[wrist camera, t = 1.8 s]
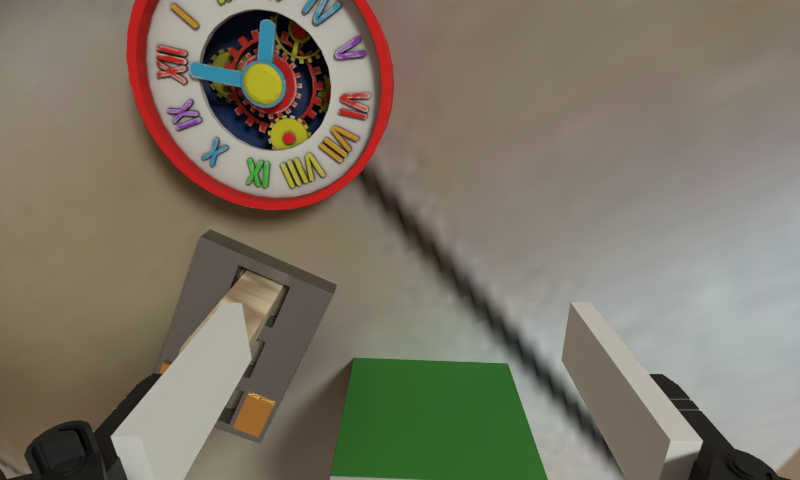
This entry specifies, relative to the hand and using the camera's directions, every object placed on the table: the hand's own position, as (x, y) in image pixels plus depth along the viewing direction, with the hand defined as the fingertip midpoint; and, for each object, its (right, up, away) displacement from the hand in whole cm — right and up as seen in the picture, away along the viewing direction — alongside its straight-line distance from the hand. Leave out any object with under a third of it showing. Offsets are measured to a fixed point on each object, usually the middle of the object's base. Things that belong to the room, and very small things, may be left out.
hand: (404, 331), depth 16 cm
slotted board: (-18, -8, +30) cm, 36 cm away
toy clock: (-11, +18, +20) cm, 29 cm away
